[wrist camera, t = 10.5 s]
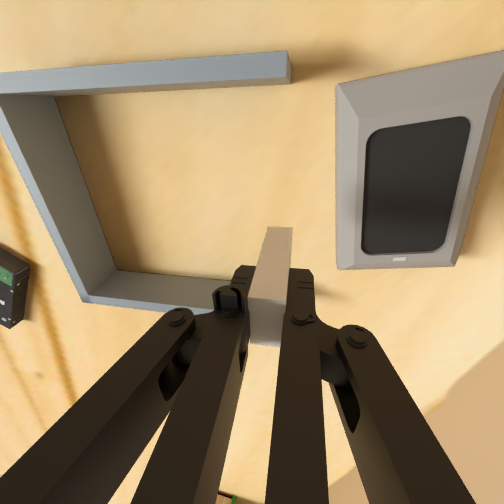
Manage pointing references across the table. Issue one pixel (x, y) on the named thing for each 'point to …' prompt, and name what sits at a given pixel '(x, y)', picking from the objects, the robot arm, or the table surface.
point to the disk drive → (12, 288)
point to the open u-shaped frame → (71, 179)
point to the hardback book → (225, 500)
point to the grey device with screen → (412, 161)
